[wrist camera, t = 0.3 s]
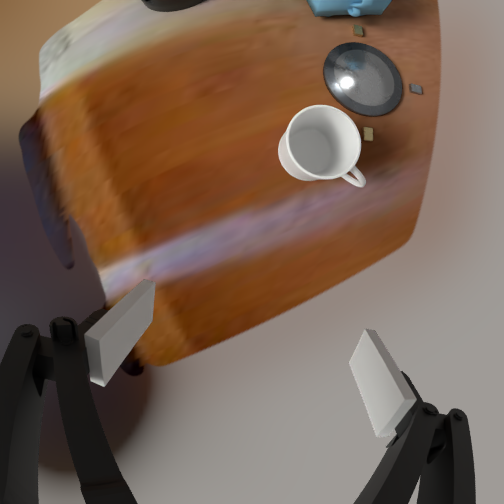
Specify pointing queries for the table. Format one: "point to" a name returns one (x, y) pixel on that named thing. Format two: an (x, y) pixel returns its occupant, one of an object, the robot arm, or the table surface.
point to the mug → (321, 145)
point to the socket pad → (363, 80)
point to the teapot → (348, 7)
